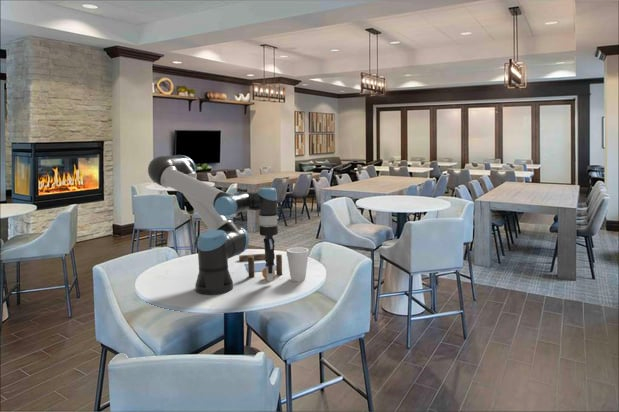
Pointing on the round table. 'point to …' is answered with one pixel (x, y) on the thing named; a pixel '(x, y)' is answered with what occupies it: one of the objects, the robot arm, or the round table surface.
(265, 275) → the ball
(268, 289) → the round table surface
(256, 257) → the bar
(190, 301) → the round table surface
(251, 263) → the post left
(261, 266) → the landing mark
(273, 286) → the round table surface
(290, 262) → the foam cup
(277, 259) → the post right
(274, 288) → the round table surface
